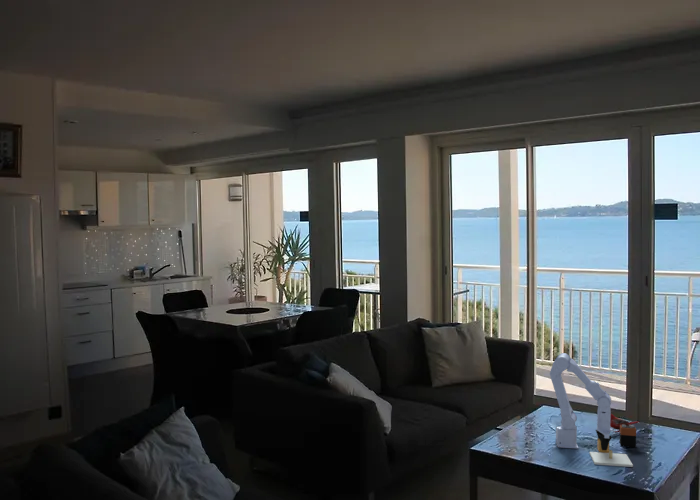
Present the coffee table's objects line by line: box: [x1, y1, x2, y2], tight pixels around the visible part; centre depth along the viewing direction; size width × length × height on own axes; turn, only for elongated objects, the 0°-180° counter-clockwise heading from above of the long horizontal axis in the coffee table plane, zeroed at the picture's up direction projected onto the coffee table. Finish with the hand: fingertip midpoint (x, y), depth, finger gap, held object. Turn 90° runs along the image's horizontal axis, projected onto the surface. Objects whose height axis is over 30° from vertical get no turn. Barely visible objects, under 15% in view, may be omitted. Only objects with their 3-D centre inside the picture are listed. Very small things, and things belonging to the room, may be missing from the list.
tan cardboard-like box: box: [596, 437, 610, 453], centre depth 293 cm, size 4×4×5 cm
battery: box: [619, 424, 637, 448], centre depth 299 cm, size 4×7×10 cm, turn 75°
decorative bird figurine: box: [610, 413, 640, 433], centre depth 315 cm, size 3×18×10 cm, turn 82°
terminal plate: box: [589, 449, 634, 468], centre depth 282 cm, size 16×12×4 cm
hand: (603, 447), depth 293 cm, fingers closed on tan cardboard-like box, 4 cm apart
